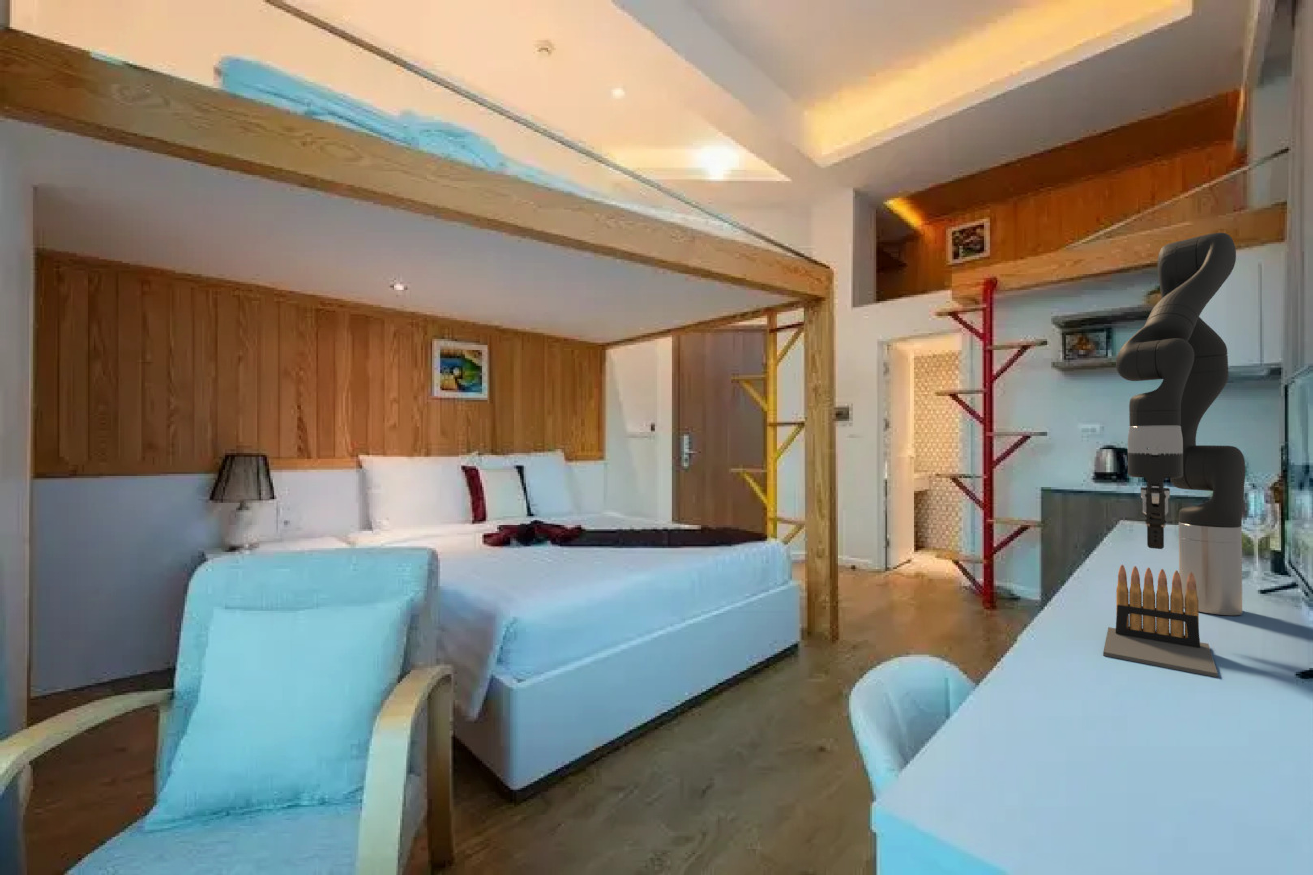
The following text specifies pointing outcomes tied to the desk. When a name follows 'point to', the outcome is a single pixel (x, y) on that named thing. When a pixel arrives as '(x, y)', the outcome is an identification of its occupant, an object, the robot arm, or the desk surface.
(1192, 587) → the ammunition clip
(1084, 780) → the desk surface
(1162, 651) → the mat
